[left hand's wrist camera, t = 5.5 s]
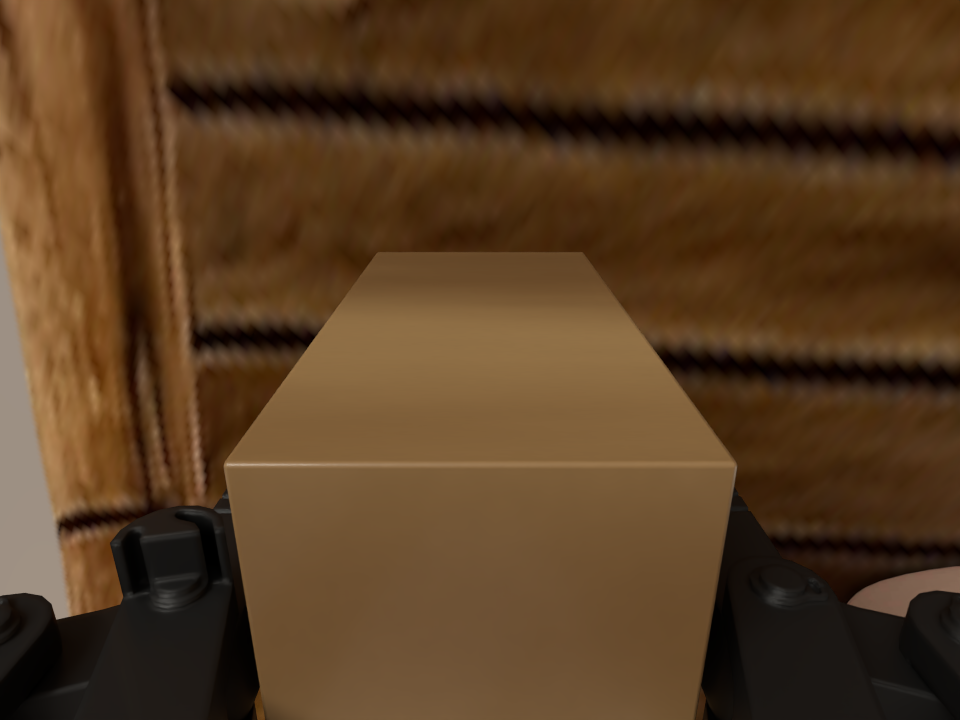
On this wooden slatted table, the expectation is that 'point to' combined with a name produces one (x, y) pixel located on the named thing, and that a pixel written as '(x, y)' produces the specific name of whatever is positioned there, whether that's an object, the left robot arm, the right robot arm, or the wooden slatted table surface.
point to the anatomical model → (906, 590)
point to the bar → (480, 505)
